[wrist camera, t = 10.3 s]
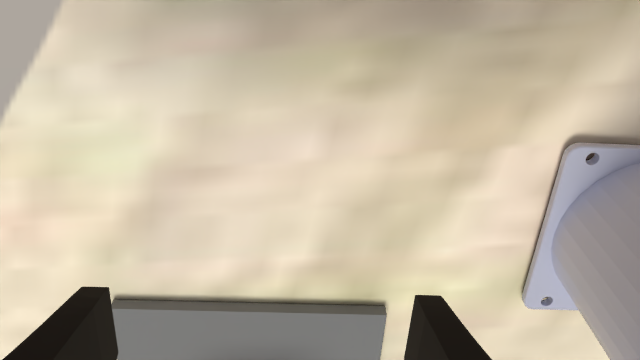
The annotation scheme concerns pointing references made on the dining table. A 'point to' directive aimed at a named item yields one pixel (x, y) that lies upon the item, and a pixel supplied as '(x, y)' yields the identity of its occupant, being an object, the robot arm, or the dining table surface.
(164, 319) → the rubber mat
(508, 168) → the dining table surface
